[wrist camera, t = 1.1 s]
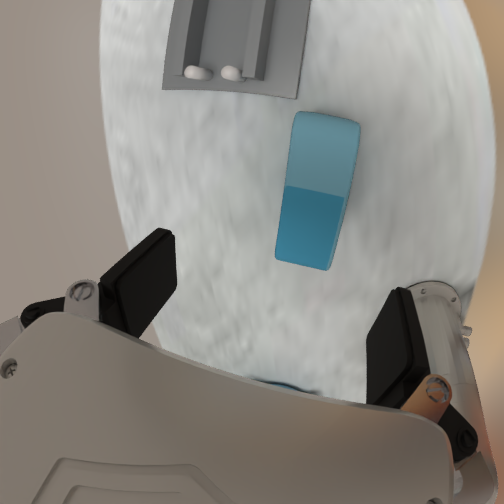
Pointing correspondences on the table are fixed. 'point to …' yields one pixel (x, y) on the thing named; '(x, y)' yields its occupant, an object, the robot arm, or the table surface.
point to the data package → (316, 188)
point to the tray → (236, 46)
